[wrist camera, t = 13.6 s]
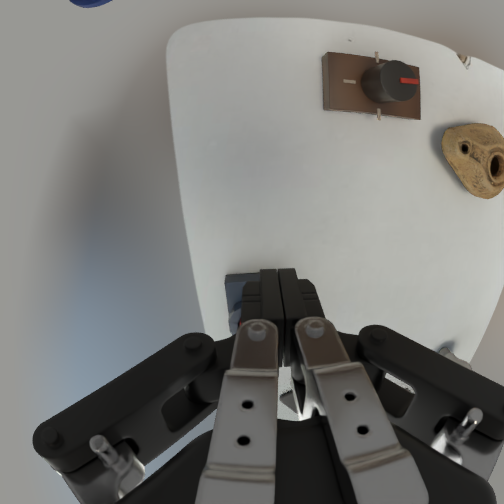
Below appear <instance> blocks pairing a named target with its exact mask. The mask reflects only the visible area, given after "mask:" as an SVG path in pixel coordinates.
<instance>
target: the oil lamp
mask: <svg viewBox="0 0 504 504" xmlns="http://www.w3.org/2000/svg"><path fill="white" fill-rule="evenodd" d="M442 151H443V154H444V155H445V158H446V159H447V161H448V162H449V164H450V166H451V167H452V168H453V170H454V171H455V173H456V174H457V176H458V177H459V179H460V180H461V182H462V183H463V185H464V186H465V188H466V189H467V190H468V191H469V192H470V193H471V194H473V195H474V196H476V197H480V198H484V199H490V198H493V197H495V196H496V195H498V194H499V193H500V192H501V191H502V189H503V188H504V138H503V137H502V135H501V134H500V133H499V132H498V131H497V129H496V128H494V127H493V126H490V125H487V124H481V123H473V124H467V125H463V126H456V127H451V128H448V129H447V130H446V131H445V132H444V135H443V138H442Z"/></svg>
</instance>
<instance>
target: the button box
mask: <svg viewBox="0 0 504 504" xmlns="http://www.w3.org/2000/svg"><path fill="white" fill-rule="evenodd" d="M247 281H260V273H249V274H233V275H226V277H225V290H226V297H227V304H228V311H229V328H230V332H231V333H232V336H233V335H234V334H236V332H237V328H238V327H239V326H240V320H241V306H242V288H243V286H244V285H245V284H246V283H247Z"/></svg>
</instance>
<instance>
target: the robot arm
mask: <svg viewBox="0 0 504 504" xmlns="http://www.w3.org/2000/svg"><path fill="white" fill-rule="evenodd" d="M282 360H283V363H284V367H288V366H291V386H292V391H293V395H294V399H295V404H296V408H297V412H298V417H299V421H289V420H282V419H277V404H278V377H279V367H282ZM386 372H387V373H389V374H390V375H392V376H394V377H396V378H397V379H399V380H401V381H403V382H404V383H406V384H408V385H410V386H411V387H412V388H413V390H414V392H415V394H412V393H411V392H409V391H407V390H405V389H404V388H402V387H400V386H398V385H397V384H395V383H393V382H391V381H390V380H388V379H386V378H385V375H386ZM215 409H217V413H216V418H215V423H214V428H213V429H212V430H210V431H208V432H206V433H204V434H202V435H200V436H198V437H197V438H195V439H194V440H192V441H191V442H190V443H189V444H187V445H186V446H185V447H184V448H183V449H182V450H181V451H180V452H179V453H177V454H176V455H175V456H174V457H173V458H171V459H170V460H169V461H168V462H167V463H165V464H164V465H163V466H162V467H161V468H159V469H158V470H157V471H156V472H154V473H153V474H152V475H151V476H150V477H148V478H147V479H146V480H145V481H143V479H144V477H145V468H144V466H145V465H147V464H148V463H149V462H151V461H152V460H153V459H155V458H156V457H157V456H159V455H160V454H161V453H163V452H164V451H165V450H167V449H168V448H169V447H170V446H171V445H173V444H174V443H175V442H177V441H178V440H179V439H180V438H182V437H183V436H184V435H186V434H187V433H188V432H189V431H190V430H191V429H193V428H194V427H195V426H196V425H198V424H199V423H200V422H201V421H203V420H204V419H205V418H206V417H207V416H208V415H210V414H211V413H212V412H213V411H214V410H215ZM503 444H504V387H503V386H502V385H500V384H498V383H496V382H494V381H492V380H489V379H488V378H486V377H484V376H482V375H479V374H478V373H476V372H474V371H472V370H470V369H468V368H466V367H464V366H462V365H460V364H458V363H456V362H454V361H452V360H450V359H448V358H446V357H444V356H442V355H440V354H438V353H436V352H434V351H432V350H430V349H428V348H427V347H425V346H423V345H421V344H419V343H417V342H415V341H413V340H411V339H409V338H407V337H405V336H403V335H401V334H399V333H397V332H395V331H393V330H391V329H389V328H387V327H385V326H381V325H369V326H366V327H364V328H362V329H361V330H360V332H359V335H353V334H346V333H342V332H339V331H336V329H335V327H334V325H333V324H332V323H331V322H330V321H329V320H327V319H326V318H325V315H324V312H323V309H322V306H321V303H320V300H319V298H318V295H317V292H316V289H315V286H314V285H313V284H312V283H311V282H310V281H309V280H308V279H298V278H297V275H296V271H295V268H288V269H278V271H277V269H260V281H247V283H246V284H245V285H244V286H243V288H242V306H241V325H240V326H239V327H238V328H237V332H236V334H234V335H233V336H231V337H229V338H227V339H224V340H220V341H215V342H214V340H213V339H212V338H211V337H210V336H209V335H207V334H204V333H188V334H185V335H183V336H181V337H179V338H178V339H176V340H175V341H173V342H172V343H170V344H168V345H167V346H165V347H164V348H162V349H161V350H159V351H158V352H156V353H155V354H153V355H151V356H150V357H148V358H147V359H145V360H144V361H142V362H141V363H139V364H137V365H136V366H134V367H133V368H131V369H130V370H128V371H126V372H125V373H123V374H122V375H120V376H119V377H117V378H115V379H114V380H112V381H111V382H109V383H107V384H106V385H104V386H103V387H101V388H99V389H98V390H96V391H95V392H93V393H91V394H90V395H88V396H86V397H85V398H83V399H81V400H80V401H78V402H76V403H75V404H73V405H71V406H70V407H68V408H67V409H65V410H63V411H62V412H60V413H58V414H57V415H55V416H53V417H52V418H50V419H48V420H46V421H45V422H43V423H41V424H40V425H39V426H38V427H37V429H36V430H35V432H34V434H33V446H34V449H35V450H36V452H37V453H38V454H39V455H40V456H41V457H42V458H44V460H45V461H47V462H48V463H49V464H50V466H51V467H52V468H53V469H54V470H55V471H56V472H58V473H59V474H60V475H61V476H62V477H63V478H64V480H65V482H66V483H67V485H68V486H69V488H70V489H71V491H72V492H73V494H74V495H75V497H76V498H77V500H78V501H79V502H80V504H497V502H496V496H495V493H494V491H493V488H492V487H491V485H490V484H489V483H488V479H489V477H490V475H491V473H492V471H493V469H494V466H495V464H496V462H497V459H498V457H499V454H500V452H501V449H502V447H503ZM142 481H143V482H142Z"/></svg>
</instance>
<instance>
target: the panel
mask: <svg viewBox="0 0 504 504" xmlns="http://www.w3.org/2000/svg"><path fill="white" fill-rule="evenodd" d="M386 62H388V60H383V59H379V57H378V52H375V58H372V57H366V56H359V55H352V54H344V53H335V52H327V53H326V54H325V55H324V56H323V57H322V71H323V100H324V110H330V111H344V112H356V113H366V114H375V115H377V120H381V115H383V116H391V117H398V118H405V119H414V120H420V118H421V108H420V76H419V67H415V66H411V65H408V66H409V67H410V68H411V69H412V71H413V72H414V74H415V76H416V79H418V83H419V84H418V85H417V91H416V93H415V95H414V96H413V97H412V98H411V99H410V100H407V101H400V102H388V103H377V102H374V101H372V100H371V99H369V98H368V97H367V96H366V95H365V93H364V91H363V89H362V85H361V79H362V76H363V74H364V72H365V71H367V70H368V69H370V68H373V67H375V66H378V65H380V64H383V63H386ZM406 65H407V64H406Z"/></svg>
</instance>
